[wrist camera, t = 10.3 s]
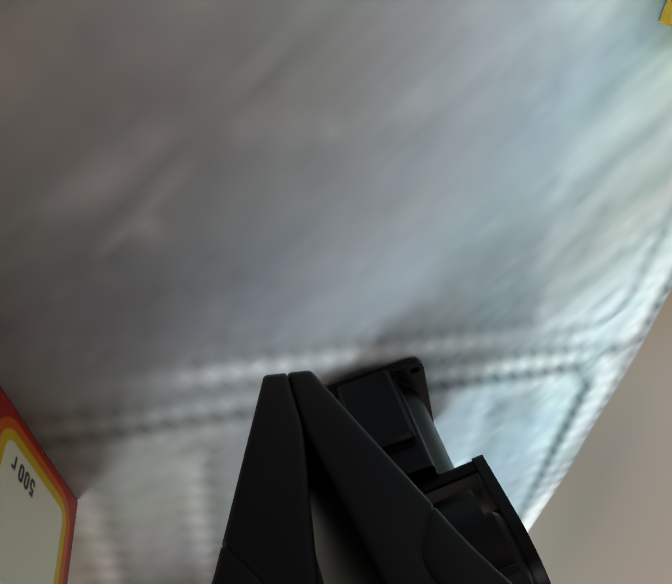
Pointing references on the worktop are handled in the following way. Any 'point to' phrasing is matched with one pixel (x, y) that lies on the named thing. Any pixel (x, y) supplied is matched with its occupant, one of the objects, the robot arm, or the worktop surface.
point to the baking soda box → (31, 508)
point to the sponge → (667, 13)
